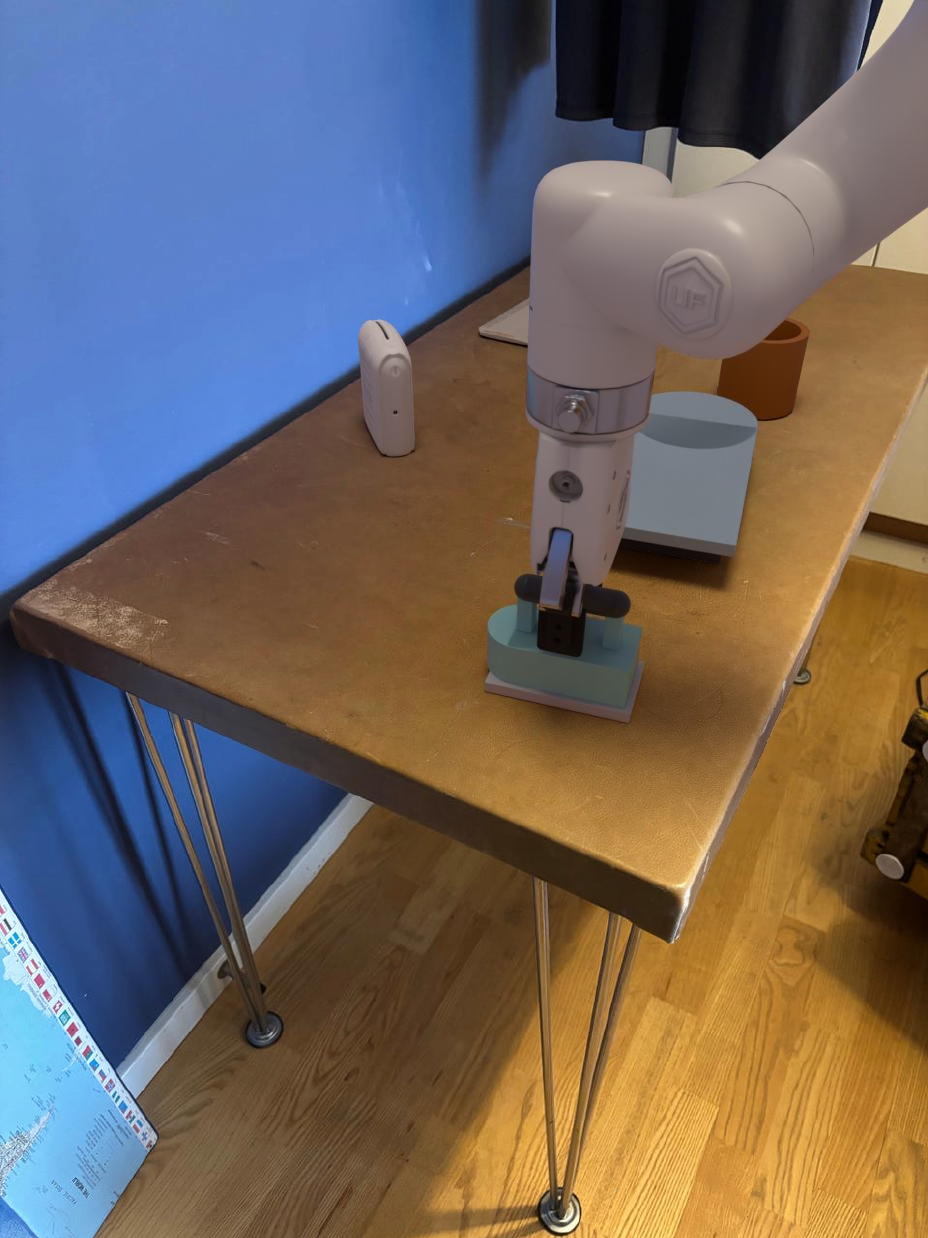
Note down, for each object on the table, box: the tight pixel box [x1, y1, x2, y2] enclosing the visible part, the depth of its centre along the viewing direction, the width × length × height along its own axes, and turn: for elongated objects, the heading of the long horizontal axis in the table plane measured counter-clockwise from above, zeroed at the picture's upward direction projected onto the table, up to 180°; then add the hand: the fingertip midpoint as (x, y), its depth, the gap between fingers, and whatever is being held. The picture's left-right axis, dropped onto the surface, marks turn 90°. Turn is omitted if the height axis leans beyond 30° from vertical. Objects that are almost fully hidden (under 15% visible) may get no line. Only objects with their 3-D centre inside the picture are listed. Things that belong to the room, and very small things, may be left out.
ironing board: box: [618, 390, 759, 565], centre depth 89 cm, size 13×28×5 cm, turn 161°
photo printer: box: [357, 318, 416, 457], centre depth 97 cm, size 10×4×12 cm, turn 17°
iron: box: [484, 573, 645, 724], centre depth 67 cm, size 12×6×9 cm, turn 71°
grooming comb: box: [478, 297, 529, 346], centre depth 127 cm, size 18×10×1 cm, turn 147°
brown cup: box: [716, 317, 811, 420], centre depth 105 cm, size 9×12×9 cm
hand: (569, 624), depth 66 cm, fingers open, 5 cm apart
